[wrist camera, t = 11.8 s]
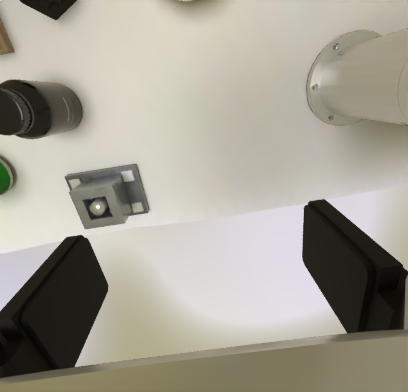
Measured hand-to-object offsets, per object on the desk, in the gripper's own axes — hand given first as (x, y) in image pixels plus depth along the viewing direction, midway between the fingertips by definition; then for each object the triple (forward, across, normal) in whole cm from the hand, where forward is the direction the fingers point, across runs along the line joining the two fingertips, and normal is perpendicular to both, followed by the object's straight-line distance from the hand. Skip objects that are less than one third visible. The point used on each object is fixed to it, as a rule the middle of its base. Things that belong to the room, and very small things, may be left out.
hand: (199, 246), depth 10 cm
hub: (+29, +17, +8) cm, 34 cm away
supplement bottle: (+30, +20, -7) cm, 37 cm away
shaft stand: (+30, +17, +8) cm, 36 cm away
